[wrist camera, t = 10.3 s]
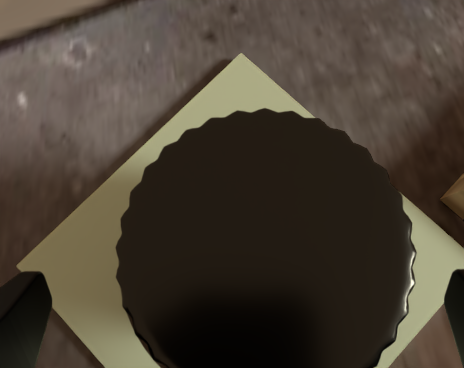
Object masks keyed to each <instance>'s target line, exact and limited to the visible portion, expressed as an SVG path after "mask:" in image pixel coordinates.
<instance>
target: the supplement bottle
mask: <svg viewBox="0 0 464 368" xmlns="http://www.w3.org/2000/svg"><path fill="white" fill-rule="evenodd" d="M120 222H121V231H122V234H121V237H120V238H119V240H118V242H117V245H116V247H115V248H116V253H117V256H118V269H117V273H116V279H117V281H118V284H119V285H120V290H121V296H122V307H123V309H124V310H125V311H126V313H127V316H128V318H129V321H130V324H131V326H132V328H133V330H134V333H135V335H136V336H137V338H138V339H139V341H140V342H141V344H142V346H143V347H144V349H145V350H146V351H147V353H148V354H149V355H150V357H151V358H152V359H153V360H154V361H155V363H156V364H157V365H158V366H159V367H160V368H375V367H377V365H378V363H379V361H380V358H381V354H382V352H383V350H385V349H386V348H388V347H389V346H391V345H392V344H393V343H394V342H395V341H396V337H397V329H398V325H399V324H400V323H401V322H402V321H403V320H404V318H405V317H406V316H407V315H408V313H409V303H408V296H409V295H410V293H411V291H412V290H413V288H414V286H415V284H416V282H415V276H414V272H413V268H412V267H413V264H414V261H415V258H416V254H417V252H416V249H415V246H414V244H413V243H412V240H411V233H412V221H411V220H410V218H409V216H408V215H407V214H406V213H405V211H404V210H403V198H402V194H401V193H400V192H399V191H398V190H397V189H396V188H395V187H394V186H392V185H391V183H390V180H389V175H388V173H387V170H386V169H384V168H383V167H382V166H380V165H379V164H377V163H375V162H374V161H373V159H372V157H371V154H370V153H369V151H368V149H367V148H365V147H363V146H361V145H358V144H356V143H353V142H352V141H351V139H350V137H349V136H348V135H347V134H346V133H345V131H342V130H338V129H333V128H330V127H328V126H327V125H326V124H325V123H324V122H323V121H322V120H321V119H319V118H304V117H302V116H301V115H299V114H298V113H296V112H294V111H284V112H279V113H278V112H276V111H273V110H270V109H267V108H263V109H259V110H256V111H254V112H246V111H239V110H237V111H235V112H233V113H231V114H229V115H228V116H226V117H222V118H220V117H213V118H210V119H208V120H207V121H206V122H205V123H204V124H203V125H202V126H200V127H198V128H191V129H188V130H185V132H184V133H183V134H182V135H181V136H180V138H179V139H178V141H176V142H173V143H170V144H168V145H166V146H164V147H163V149H162V151H161V152H160V155H159V157H158V159H157V160H156V161H154V162H152V163H150V164H149V165H148V166H146V167H145V169H144V172H143V175H142V179H141V182H140V183H139V184H137V185H136V186H135V187H134V188H133V189H132V191H131V192H130V198H129V207H128V209H127V210H126V211H125V212H124V214H123V215H122V217H121V218H120Z"/></svg>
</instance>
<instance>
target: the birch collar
mask: <svg viewBox="0 0 464 368" xmlns="http://www.w3.org/2000/svg"><path fill="white" fill-rule="evenodd" d="M440 200H441V201H442V202H443V203H444V204H446V205H447V206H448V207H449V208H450V209H451V210H452V211H454V212H455V213H456V214H457V215H458V216H459V217H461V218H462V219H463V220H464V173H463V174H462V175H461V176H460V178H459V179H458V180H457V181H456V182H455V183H454V184H453V185H452V186H451V187H450V189H449V190H448V191H447V192H446V193H445V194H444V195H443V196H442V197H441V199H440Z"/></svg>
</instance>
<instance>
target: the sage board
mask: <svg viewBox="0 0 464 368" xmlns="http://www.w3.org/2000/svg"><path fill="white" fill-rule="evenodd" d="M263 108H267V109H270V110H273V111H276V112H278V113H279V112H284V111H294V112H296V113H298V114H299V115H301V116H302V117H304V118H315V117H314V116H312V115H311V114H310V113H309V112H308V111H307V110H306V109H304V108H303V107H302V106H301V105H300V104H299V103H298V102H296V101H295V100H294V99H293V98H292V97H291V96H290V95H289V94H287V93H286V92H285V91H284V90H283V89H282V88H281V87H279V86H278V85H277V84H276V83H275V82H274V81H273V80H271V79H270V78H269V77H268V76H267V75H266V74H265V73H263V72H262V71H261V70H260V69H259V68H258V67H257V66H255V65H254V64H253V63H252V62H251V61H250V60H249V59H248V58H246V57H245V56H244V55H243V54H242V53H240V54H239V55H238V56H237V57H236V58H235V59H234V60H233V61H232V62H231V63H230V64H229V65H228V66H227V67H226V68H225V69H223V70H222V71H221V72H220V73H219V74H218V75H217V76H216V77H215V78H214V79H213V80H212V81H211V82H210V83H209V84H208V85H207V86H206V87H204V88H203V89H202V90H201V91H200V92H199V93H198V94H197V95H196V96H195V97H194V98H193V99H192V100H191V101H190V102H189V103H188V104H187V105H185V106H184V107H183V108H182V109H181V110H180V111H179V112H178V113H177V114H176V115H175V116H174V117H173V118H172V119H171V120H170V121H169V122H167V123H166V124H165V125H164V126H163V127H162V128H161V129H160V130H159V131H158V132H157V133H156V134H155V135H154V136H153V137H152V138H151V139H150V140H148V141H147V142H146V143H145V144H144V145H143V146H142V147H141V148H140V149H139V150H138V151H137V152H136V153H135V154H134V155H133V156H132V157H131V158H129V159H128V160H127V161H126V162H125V163H124V164H123V165H122V166H121V167H120V168H119V169H118V170H117V171H116V172H115V173H114V174H113V175H111V176H110V177H109V178H108V179H107V180H106V181H105V182H104V183H103V184H102V185H101V186H100V187H99V188H98V189H97V190H96V191H95V192H94V193H92V194H91V195H90V196H89V197H88V198H87V199H86V200H85V201H84V202H83V203H82V204H81V205H80V206H79V207H78V208H77V209H76V210H74V211H73V212H72V213H71V214H70V215H69V216H68V217H67V218H66V219H65V220H64V221H63V222H62V223H61V224H60V225H59V226H58V227H57V228H55V229H54V230H53V231H52V232H51V233H50V234H49V235H48V236H47V237H46V238H45V239H44V240H43V241H42V242H41V243H40V244H39V245H38V246H36V247H35V248H34V249H33V250H32V251H31V252H30V253H29V254H28V255H27V256H26V257H25V258H24V259H23V260H22V261H21V262H20V263H18V264H17V265H16V266H17V268H18V269H19V270H20V271H21V272H24V271H40V272H42V273H43V274H44V276H45V279H46V281H47V284H48V287H49V290H50V293H51V295H52V308H53V309H54V310H55V311H56V312H57V313H58V314H59V316H60V317H61V318H62V319H63V320H64V321H65V322H66V324H67V325H68V326H69V327H70V328H71V329H72V330H73V332H74V333H75V334H76V335H77V336H78V337H79V338H80V340H81V341H82V342H83V343H84V344H85V345H86V346H87V348H88V349H89V350H90V351H91V352H92V353H93V354H94V355H95V357H96V358H97V359H98V360H99V361H100V362H101V363H102V365H103V366H104V367H105V368H160V367H159V366H158V365H157V364H156V363H155V361H154V360H153V359H152V358H151V357H150V355H149V354H148V353H147V351H146V350H145V349H144V347H143V346H142V344H141V342H140V341H139V339H138V338H137V336H136V335H135V333H134V330H133V328H132V326H131V324H130V321H129V318H128V316H127V313H126V311H125V310H124V309H123V307H122V296H121V290H120V285H119V284H118V281H117V279H116V273H117V269H118V256H117V253H116V248H115V247H116V245H117V242H118V240H119V238H120V237H121V234H122V231H121V222H120V218H121V217H122V215H123V214H124V212H125V211H126V210H127V209H128V207H129V198H130V192H131V191H132V189H133V188H134V187H135V186H136V185H137V184H139V183H140V182H141V179H142V175H143V172H144V169H145V167H146V166H148V165H149V164H150V163H152V162H154V161H156V160H157V159H158V157H159V155H160V152H161V151H162V149H163V147H164V146H166V145H168V144H170V143H173V142H176V141H178V139H179V138H180V136H181V135H182V134H183V133H184V132H185V130H188V129H191V128H198V127H200V126H202V125H203V124H204V123H205V122H206V121H207V120H208V119H210V118H213V117H220V118H222V117H226V116H228V115H229V114H231V113H233V112H235V111H237V110H239V111H246V112H254V111H256V110H259V109H263ZM402 198H403V210H404V211H405V213H406V214H407V215H408V216H409V218H410V220H411V221H412V233H411V240H412V243H413V244H414V246H415V249H416V252H417V254H416V258H415V261H414V264H413V267H412V268H413V272H414V276H415V282H416V284H415V286H414V288H413V290H412V291H411V293H410V295H409V296H408V303H409V313H408V315H407V316H406V317H405V318H404V320H403V321H402V322H401V323H400V324H399V325H398V329H397V337H396V341H395V342H394V343H393V344H392V345H391V346H389V347H388V348H386V349H385V350H383V352H382V354H381V358H380V361H379V363H378V365H377V367H375V368H388V367H389V366H390V364H391V363H392V362H393V361H394V360H395V359H396V358H397V356H398V355H399V354H400V353H401V352H402V351H403V349H404V348H405V347H406V346H407V345H408V344H409V343H410V341H411V340H412V339H413V338H414V337H415V336H416V334H417V333H418V332H419V331H420V330H421V329H422V328H423V326H424V325H425V324H426V323H427V322H428V321H429V319H430V318H431V317H432V316H433V315H434V314H435V313H436V311H437V310H438V309H439V308H440V307H441V306H442V304H443V303H444V296H445V292H446V289H447V286H448V283H449V280H450V277H451V274H452V272H453V271H454V270H456V269H464V248H463V247H462V246H461V245H459V244H458V243H457V242H456V241H455V240H454V239H453V238H451V237H450V236H449V235H448V234H447V233H446V232H445V231H443V230H442V229H441V228H440V227H439V226H438V225H437V224H435V223H434V222H433V221H432V220H431V219H430V218H429V217H427V216H426V215H425V214H424V213H423V212H422V211H421V210H420V209H418V208H417V207H416V206H415V205H414V204H413V203H412V202H410V201H409V200H408V199H407V198H406V197H405V196H404V195H402Z"/></svg>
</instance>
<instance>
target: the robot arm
mask: <svg viewBox="0 0 464 368" xmlns="http://www.w3.org/2000/svg"><path fill="white" fill-rule="evenodd" d="M444 305H445V309H446V312H447V315H448V319H449V322H450V325H451V329H452V332H453V335H454V339H455V342H456V345H457V349H458V352H459V355H460V359H461V362H462V365H463V368H464V269H456V270H454V271H453V272H452V274H451V277H450V280H449V283H448V286H447V289H446V292H445V296H444ZM51 308H52V295H51V293H50V290H49V287H48V284H47V281H46V279H45V276H44V274H43V273H42V272H40V271H24V272H21V273H20V274H18V275H17V276H15V277H14V278H13V279H11V280H10V281H8V282H7V283H6V284H4V285H3V286H2V287H0V368H35V366H36V362H37V359H38V355H39V352H40V348H41V344H42V341H43V337H44V334H45V330H46V326H47V323H48V319H49V316H50V312H51Z"/></svg>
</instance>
